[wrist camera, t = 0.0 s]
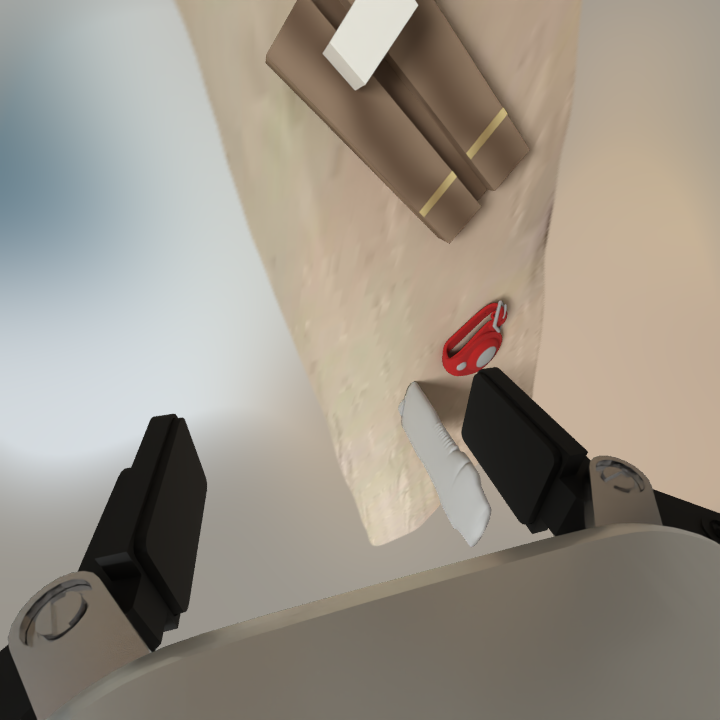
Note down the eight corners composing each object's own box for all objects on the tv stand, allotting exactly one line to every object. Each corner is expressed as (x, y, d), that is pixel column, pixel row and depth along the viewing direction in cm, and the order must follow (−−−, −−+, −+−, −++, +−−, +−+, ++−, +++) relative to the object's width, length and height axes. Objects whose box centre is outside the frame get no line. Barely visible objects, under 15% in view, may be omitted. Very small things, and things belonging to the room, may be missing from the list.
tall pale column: (402, 380, 52) (477, 505, 34) (427, 378, 53) (513, 498, 35) (394, 431, 57) (455, 562, 39) (417, 428, 58) (486, 555, 40)
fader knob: (364, -15, 27) (383, -46, 23) (394, 26, 29) (418, 5, 24) (319, 58, 29) (329, 42, 24) (350, 93, 30) (365, 84, 26)
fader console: (352, -89, 26) (361, -115, 23) (512, 149, 38) (530, 149, 35) (265, 62, 29) (266, 54, 27) (438, 237, 41) (449, 243, 39)
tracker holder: (504, 363, 54) (455, 392, 51) (483, 347, 57) (436, 374, 54) (521, 303, 45) (463, 335, 42) (496, 287, 48) (440, 317, 45)
